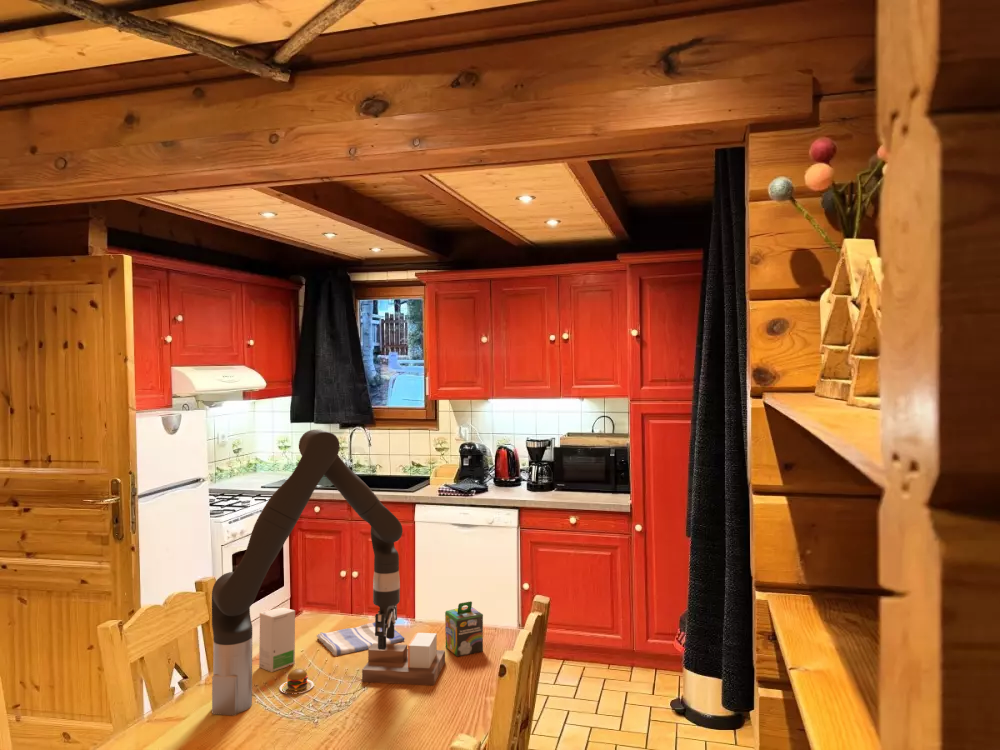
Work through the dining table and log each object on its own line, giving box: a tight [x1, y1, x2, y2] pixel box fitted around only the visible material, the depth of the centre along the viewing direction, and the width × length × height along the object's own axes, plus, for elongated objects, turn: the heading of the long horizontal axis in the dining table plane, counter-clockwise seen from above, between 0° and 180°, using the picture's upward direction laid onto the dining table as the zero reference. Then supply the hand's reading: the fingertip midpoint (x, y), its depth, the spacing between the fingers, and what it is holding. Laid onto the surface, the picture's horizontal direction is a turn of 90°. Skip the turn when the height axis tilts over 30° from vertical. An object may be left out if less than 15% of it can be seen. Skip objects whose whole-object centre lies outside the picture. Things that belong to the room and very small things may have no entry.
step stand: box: [361, 643, 446, 686], centre depth 197 cm, size 16×20×7 cm
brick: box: [407, 632, 438, 668], centre depth 197 cm, size 10×6×6 cm
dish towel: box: [316, 621, 406, 657], centre depth 221 cm, size 17×24×3 cm
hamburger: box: [278, 668, 315, 695], centre depth 187 cm, size 12×12×6 cm
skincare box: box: [258, 607, 296, 673], centre depth 201 cm, size 8×7×16 cm
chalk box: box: [444, 601, 484, 657], centre depth 214 cm, size 9×9×15 cm
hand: (386, 643), depth 198 cm, fingers open, 8 cm apart
